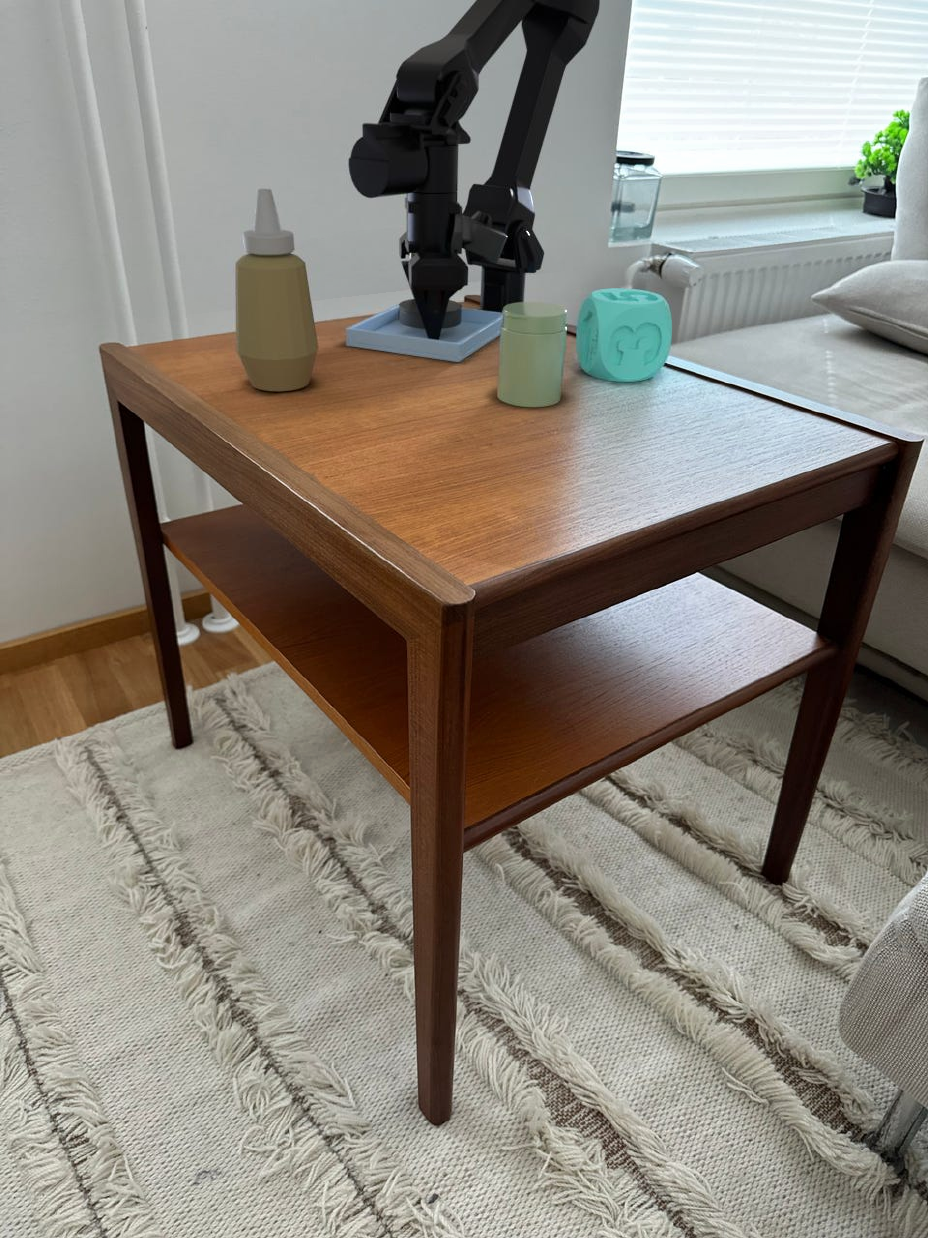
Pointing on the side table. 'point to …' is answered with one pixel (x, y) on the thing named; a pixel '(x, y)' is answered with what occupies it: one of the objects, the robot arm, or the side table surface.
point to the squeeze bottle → (273, 305)
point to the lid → (413, 319)
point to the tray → (403, 339)
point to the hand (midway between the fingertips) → (430, 333)
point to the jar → (531, 354)
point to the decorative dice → (623, 334)
